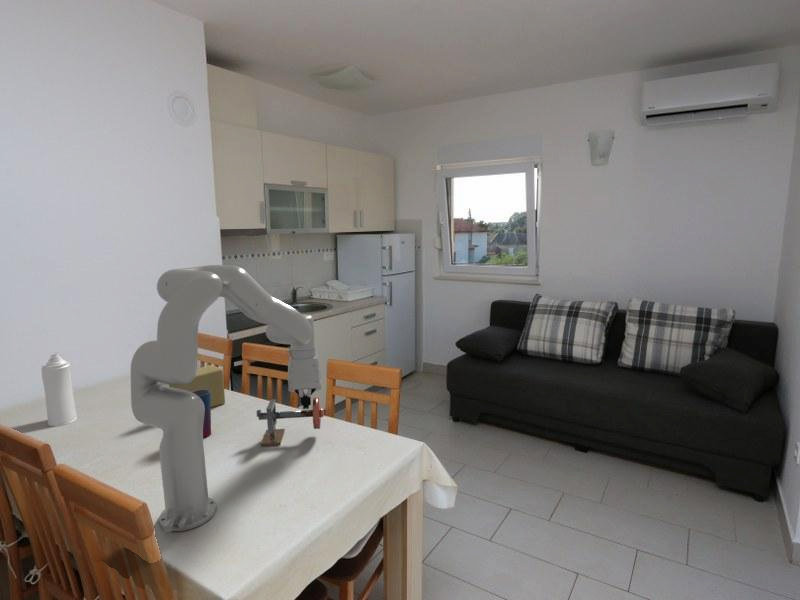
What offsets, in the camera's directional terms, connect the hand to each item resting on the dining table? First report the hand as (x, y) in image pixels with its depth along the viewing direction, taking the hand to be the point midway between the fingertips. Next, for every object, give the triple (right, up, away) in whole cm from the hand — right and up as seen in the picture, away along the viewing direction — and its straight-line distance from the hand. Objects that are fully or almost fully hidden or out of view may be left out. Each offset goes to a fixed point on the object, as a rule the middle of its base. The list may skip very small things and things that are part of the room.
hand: (306, 407), depth 152 cm
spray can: (-93, -9, +19) cm, 96 cm away
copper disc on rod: (-5, -7, +1) cm, 9 cm away
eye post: (-11, -10, +1) cm, 15 cm away
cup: (-35, -11, +4) cm, 37 cm away
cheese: (-48, -7, +25) cm, 55 cm away
